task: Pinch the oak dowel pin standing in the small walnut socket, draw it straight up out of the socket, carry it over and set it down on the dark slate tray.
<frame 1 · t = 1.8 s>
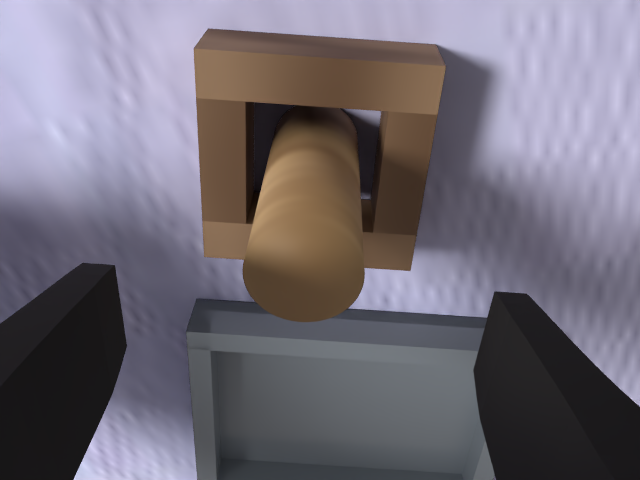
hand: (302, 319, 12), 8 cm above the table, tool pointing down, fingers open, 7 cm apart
socket: (315, 142, 19), on the table
pin: (310, 196, 16), in the socket
tray: (349, 395, 25), on the table
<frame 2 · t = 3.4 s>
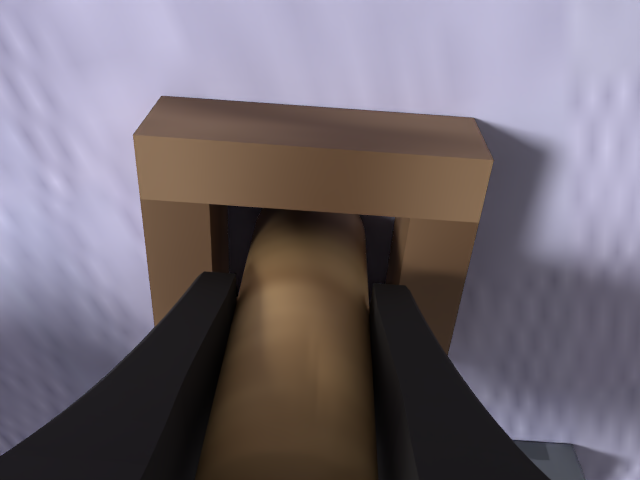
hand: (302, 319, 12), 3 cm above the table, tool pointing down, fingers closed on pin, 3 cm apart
socket: (309, 238, 14), on the table
pin: (300, 339, 11), in the socket, touching gripper
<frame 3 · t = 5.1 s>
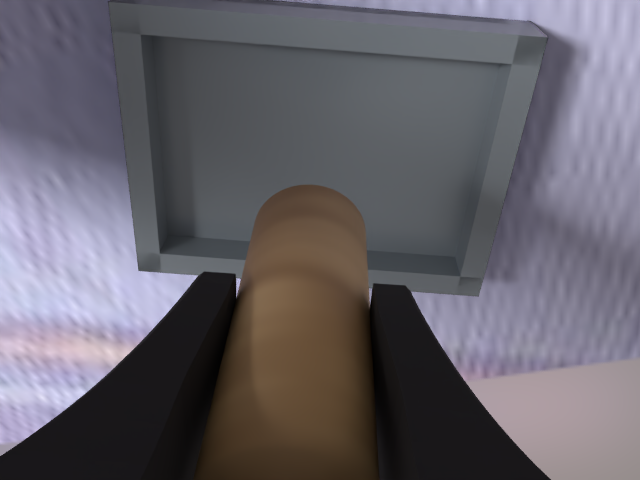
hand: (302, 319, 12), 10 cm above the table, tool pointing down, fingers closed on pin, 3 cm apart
pin: (300, 335, 11), point 10 cm above the table, touching gripper
tray: (319, 144, 21), on the table
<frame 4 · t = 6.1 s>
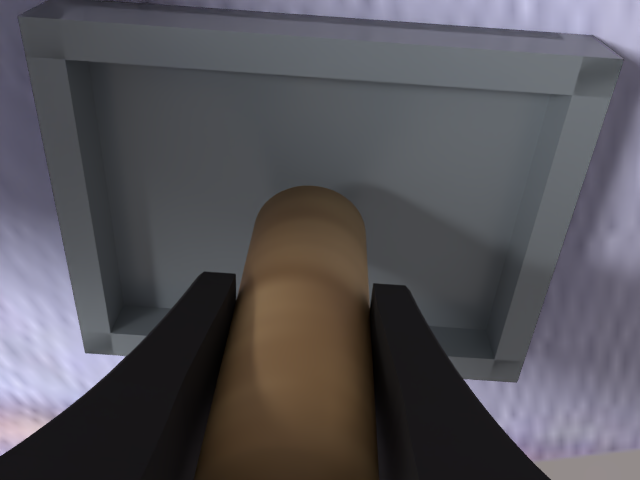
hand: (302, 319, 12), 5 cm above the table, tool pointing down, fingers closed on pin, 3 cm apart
pin: (300, 336, 11), point 6 cm above the table, touching gripper
tray: (313, 194, 16), on the table
when the fingers open (5 cm above the table, at t = 6.8 s): pin drops 1 cm, resting on tray.
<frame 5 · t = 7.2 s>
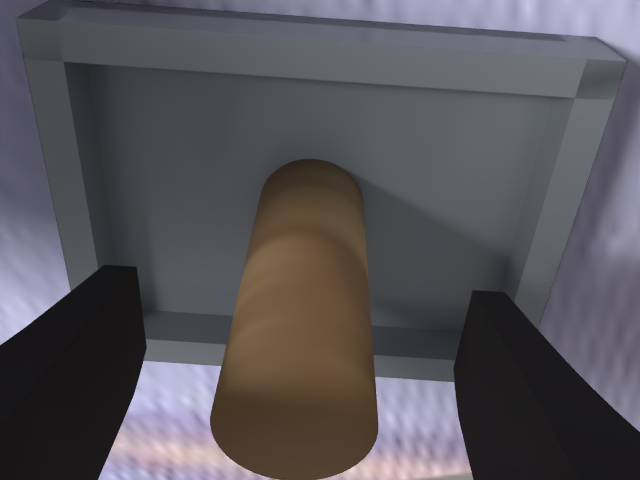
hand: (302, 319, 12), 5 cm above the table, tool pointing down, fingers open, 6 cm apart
pin: (304, 290, 12), in the tray, point 4 cm above the table
tray: (313, 196, 16), on the table
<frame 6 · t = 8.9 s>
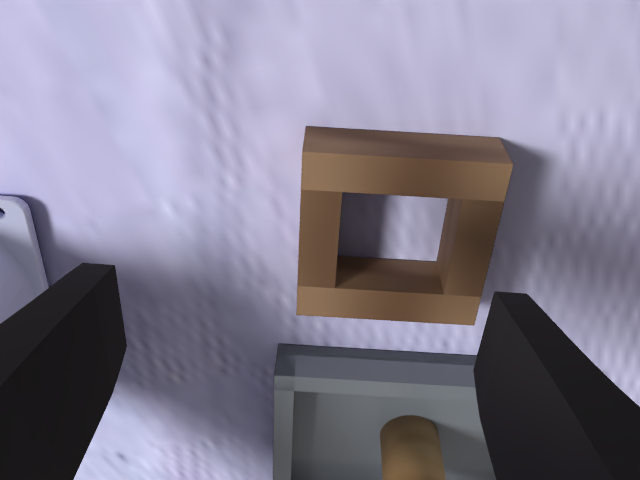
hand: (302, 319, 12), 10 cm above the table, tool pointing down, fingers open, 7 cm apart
socket: (391, 215, 22), on the table
tray: (408, 425, 28), on the table
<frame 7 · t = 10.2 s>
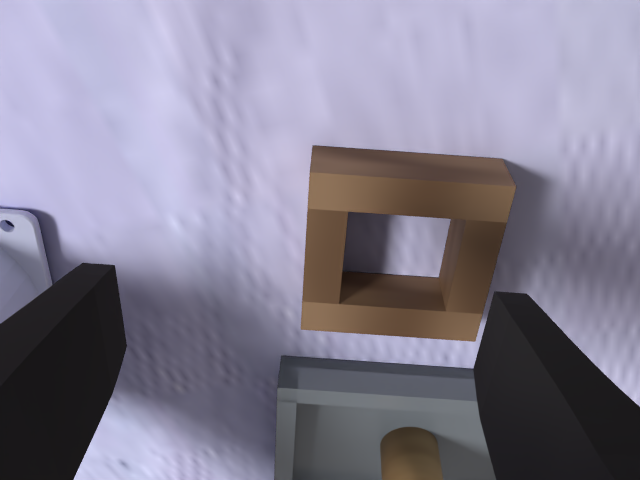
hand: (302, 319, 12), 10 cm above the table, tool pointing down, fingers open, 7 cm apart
socket: (395, 232, 22), on the table
tray: (408, 436, 28), on the table
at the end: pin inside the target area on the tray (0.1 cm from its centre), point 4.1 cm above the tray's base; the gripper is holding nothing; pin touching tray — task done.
